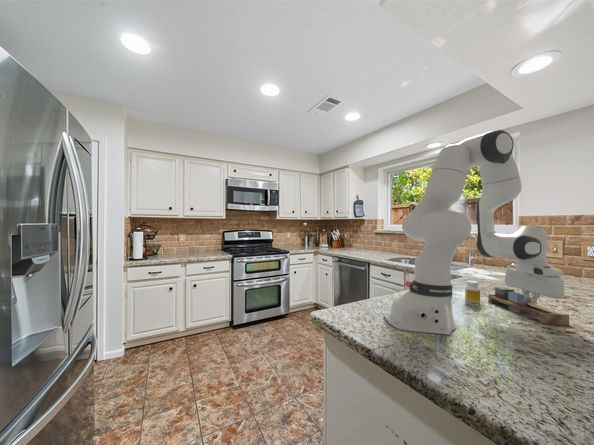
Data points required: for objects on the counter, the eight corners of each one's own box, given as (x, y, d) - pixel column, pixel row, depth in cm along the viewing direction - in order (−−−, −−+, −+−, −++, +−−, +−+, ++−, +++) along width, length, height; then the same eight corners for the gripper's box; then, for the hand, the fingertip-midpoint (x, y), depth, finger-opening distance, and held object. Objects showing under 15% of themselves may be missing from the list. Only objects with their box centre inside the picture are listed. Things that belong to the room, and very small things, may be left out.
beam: (543, 324, 84) (543, 304, 84) (488, 301, 109) (488, 286, 109) (569, 324, 84) (569, 304, 84) (508, 302, 109) (508, 286, 109)
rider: (517, 305, 97) (517, 294, 97) (508, 302, 101) (508, 291, 101) (529, 306, 97) (529, 294, 97) (520, 302, 101) (520, 292, 101)
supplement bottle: (482, 306, 102) (482, 283, 103) (468, 305, 104) (468, 282, 104) (476, 302, 108) (476, 280, 108) (462, 301, 109) (462, 279, 109)
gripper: (500, 263, 104) (500, 295, 104) (550, 272, 83) (550, 312, 83) (514, 263, 104) (514, 295, 104) (568, 272, 83) (568, 312, 83)
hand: (530, 303), depth 93 cm, fingers closed
